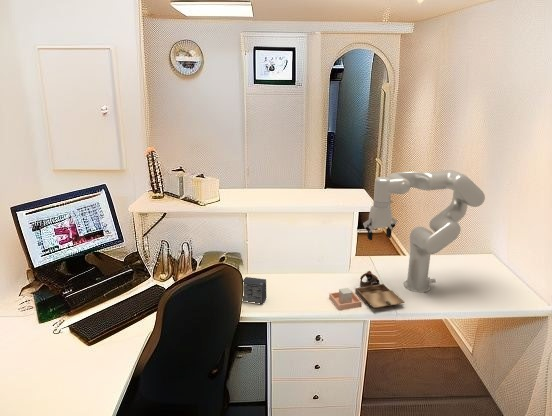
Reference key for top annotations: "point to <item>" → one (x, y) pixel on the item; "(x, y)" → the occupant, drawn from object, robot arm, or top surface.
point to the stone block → (345, 296)
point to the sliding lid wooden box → (378, 296)
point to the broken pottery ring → (369, 279)
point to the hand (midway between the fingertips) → (379, 238)
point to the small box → (254, 290)
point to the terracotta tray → (355, 303)
